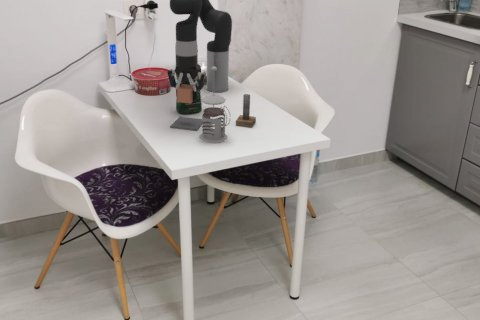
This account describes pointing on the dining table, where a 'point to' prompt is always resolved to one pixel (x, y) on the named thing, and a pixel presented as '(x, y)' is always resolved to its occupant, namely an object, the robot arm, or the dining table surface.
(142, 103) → the dining table surface
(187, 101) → the orange cube
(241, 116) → the post stand
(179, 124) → the mat
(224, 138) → the french press
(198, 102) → the coffee jar
